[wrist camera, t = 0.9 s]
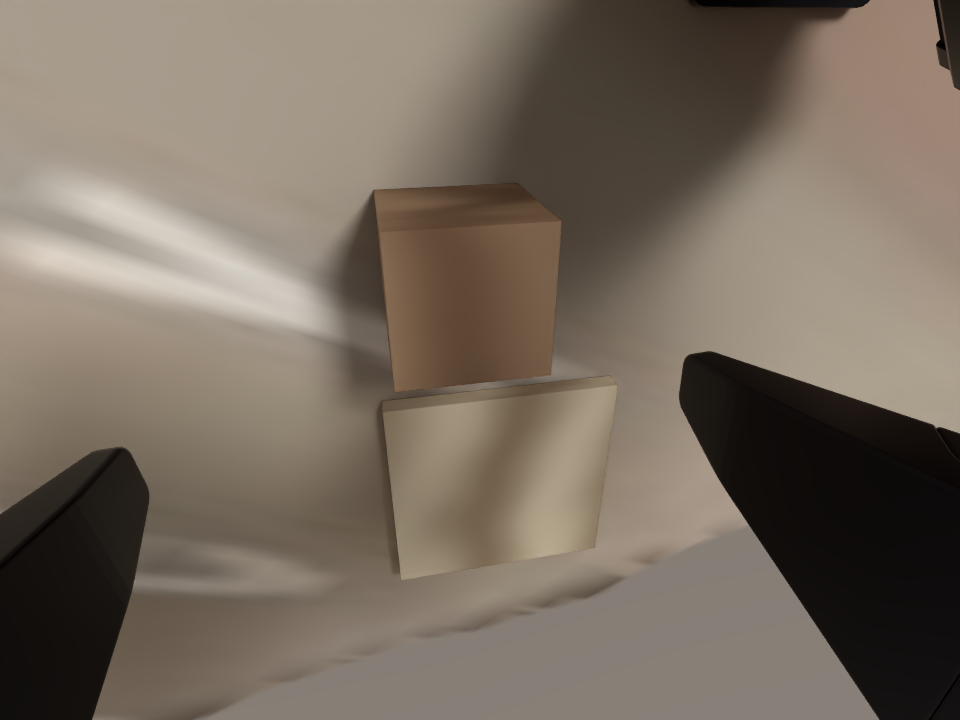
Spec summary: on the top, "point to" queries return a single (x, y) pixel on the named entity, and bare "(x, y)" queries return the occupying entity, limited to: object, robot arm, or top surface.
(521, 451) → the birch coaster
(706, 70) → the top surface
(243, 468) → the top surface
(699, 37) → the top surface
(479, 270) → the walnut cube
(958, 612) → the robot arm
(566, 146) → the top surface
